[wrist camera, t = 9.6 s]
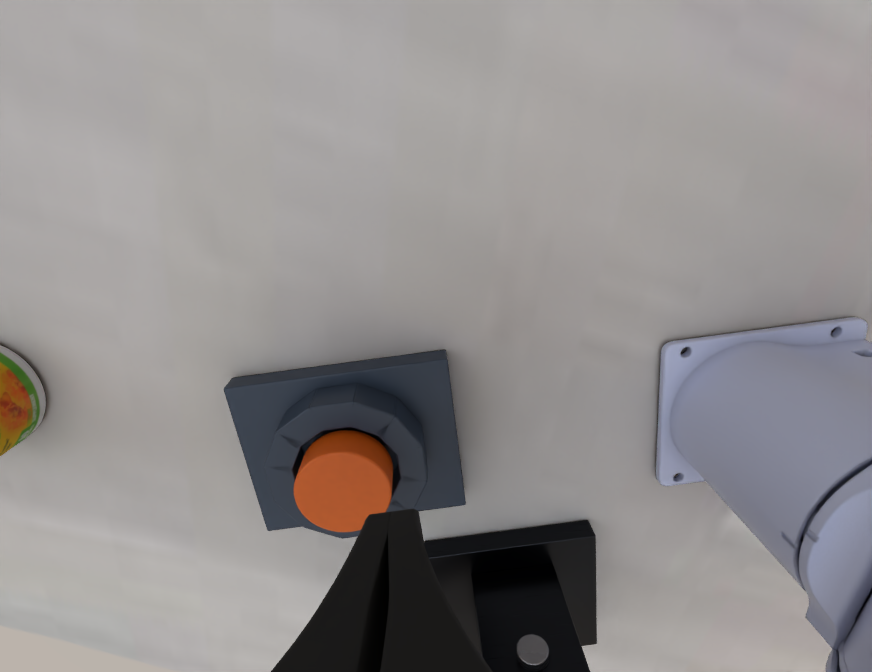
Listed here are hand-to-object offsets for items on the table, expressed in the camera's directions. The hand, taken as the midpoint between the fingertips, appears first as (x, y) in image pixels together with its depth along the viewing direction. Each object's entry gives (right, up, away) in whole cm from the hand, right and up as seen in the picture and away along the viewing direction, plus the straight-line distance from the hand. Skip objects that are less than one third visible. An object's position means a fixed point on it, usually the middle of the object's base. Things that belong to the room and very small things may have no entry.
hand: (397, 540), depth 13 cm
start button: (-3, 0, +8) cm, 9 cm away
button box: (-3, +1, +11) cm, 11 cm away
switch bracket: (+5, -9, +15) cm, 18 cm away
